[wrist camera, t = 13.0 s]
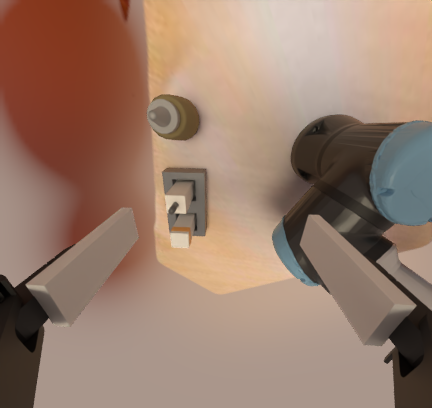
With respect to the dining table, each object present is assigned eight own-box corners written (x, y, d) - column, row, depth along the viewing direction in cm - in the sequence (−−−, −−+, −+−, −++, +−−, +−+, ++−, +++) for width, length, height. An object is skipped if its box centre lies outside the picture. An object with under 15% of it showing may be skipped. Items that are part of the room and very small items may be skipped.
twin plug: (194, 179, 42) (181, 202, 29) (194, 193, 44) (182, 221, 31) (178, 178, 42) (159, 201, 29) (179, 193, 44) (162, 220, 31)
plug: (196, 222, 47) (189, 248, 37) (182, 222, 47) (171, 247, 38) (196, 210, 46) (188, 233, 36) (181, 209, 46) (169, 232, 36)
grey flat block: (206, 169, 42) (204, 173, 38) (206, 228, 49) (205, 236, 46) (167, 168, 42) (162, 171, 38) (173, 226, 50) (169, 234, 46)
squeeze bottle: (204, 135, 38) (190, 142, 22) (172, 142, 39) (135, 153, 23) (196, 95, 35) (173, 68, 19) (161, 103, 36) (109, 85, 20)
